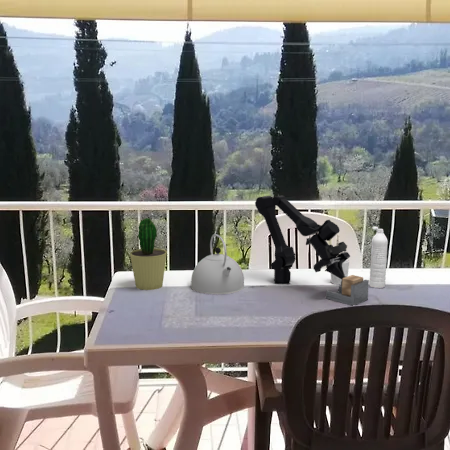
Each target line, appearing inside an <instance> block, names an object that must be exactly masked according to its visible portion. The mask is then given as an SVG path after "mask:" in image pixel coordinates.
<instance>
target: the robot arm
mask: <svg viewBox="0 0 450 450" xmlns="http://www.w3.org/2000/svg"><path fill="white" fill-rule="evenodd" d="M254 204H255V207H256V209H257V211H258V213H259V214H260V215H261V216H262V217H263V218H264V220H265V223H266V226H267V228H268V232H269V234H270V238H271V239H272V242H273V244H274V245H273V246H274V250H275V251H274V260H273V262H272V263H271V264H270V268H271V270H273V279H272V280H273V282H274V284H275V285H277V284H278V285H279V284H282V285H283V284H285V285H288V284H290V283H291V274H292V273H291V271H290V268H293V264H295V262H296V261H295V260H296V259H297V258H296V256H297V255H296V253H295V251H294V247H293V246H289V245H287V242H286V240H285V237H284V234H283V232H282V229H281V227H280V223H279V221H278V218H277V216H276V210H277V209H276V208H279V210H281V211H282V212H283V213H284V214H285V215H286V216H287V217H288V218H289V219H290V220H291V221H292V222H293V223H294V224H295V227H296V230H297V231H298V232H299V233H300V235H301V236H302V237H307V238H306V242H305V245H306V246H309V245H311V246H312V247H313V250H315V252H316V253H315V255H316V257H319V258H320V259H318V261H317V262H316V263H315V264H313V270H314V272H315V273H318V272H321V270H322V268H324V267H325V270H324V272H328V273H330V275H331V274H333V275H335V276H337V277H338V278H340V279H343V277H345V275H344V272H343V268H342V263H343V262H344V261H346V260H349V258H350V257H351V255H350V253H349V252H348V251H347V248H348V245H347V244H346V243H345V241H341V242H338V243H337V245H335V246H334V245H333V244H329V243H328V242H330V241H331V240H332V239H333V238H334V237H335V236H337V234H339V233H340V227H339V226H338V224H337V223H335V222H332V221H331V220H330V219H326V220H325V221H324V222H323V223H322V224H321V225H320V224H319V223H317V222H316V221H315V220H313V219H312V218H310V217H309V216H305V215H304V214H303V213H302V212H300V210H298V209H297V208H296V207H295V205H293V203H291V202H290V201H289V200H288V199H287V197H286V196H285V195H278V196H274V197H273V196H271V195H264V196H258V197H257V198H255V202H254ZM309 236H310V237H309Z"/></svg>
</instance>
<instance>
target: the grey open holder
mask: <svg viewBox="0 0 450 450" xmlns="http://www.w3.org/2000/svg"><path fill="white" fill-rule="evenodd" d="M369 282H370V279H369V280H368V279H363V281H360V282H358V283H355V284H353V285H351V296H347V295H343V294H342V287H341V285H338V287H337V288H338V289H337V290H338V291H332V290H326V291H325V299H327V300H331V301H334V302H338V303H340V304H341V303H342V304H345V305H349V306H352V305H355V306H356V305H359V304H361V303H363V302H366V301H368V299H369V287H370V285H369Z"/></svg>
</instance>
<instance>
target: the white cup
mask: <svg viewBox="0 0 450 450" xmlns="http://www.w3.org/2000/svg"><path fill="white" fill-rule="evenodd" d="M349 266H350V260H349V259H347V260H346V261H344V262H343V263H342V268H343V272H344V275H345V276H346V277H348V276H349ZM341 281H342V279H340V278H338V277H337V276H335V275H333V274H331V273H330V282H331V284H334V285H338V286H341Z"/></svg>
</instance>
